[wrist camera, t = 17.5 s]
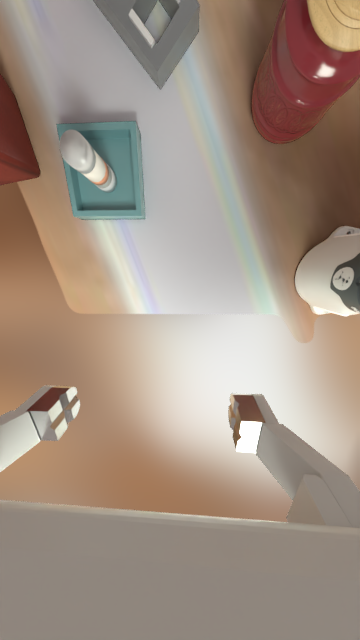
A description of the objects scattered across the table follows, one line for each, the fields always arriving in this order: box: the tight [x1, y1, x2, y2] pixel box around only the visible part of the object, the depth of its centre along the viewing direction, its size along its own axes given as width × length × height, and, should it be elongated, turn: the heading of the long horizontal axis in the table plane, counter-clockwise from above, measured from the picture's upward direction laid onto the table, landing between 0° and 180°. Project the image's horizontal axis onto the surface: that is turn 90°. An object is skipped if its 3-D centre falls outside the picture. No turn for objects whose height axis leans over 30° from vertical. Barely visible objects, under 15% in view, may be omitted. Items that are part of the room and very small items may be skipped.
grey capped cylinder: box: [60, 130, 117, 193], centre depth 29 cm, size 4×4×10 cm
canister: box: [251, 0, 360, 144], centre depth 20 cm, size 13×13×18 cm
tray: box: [57, 121, 145, 220], centre depth 33 cm, size 14×14×3 cm
